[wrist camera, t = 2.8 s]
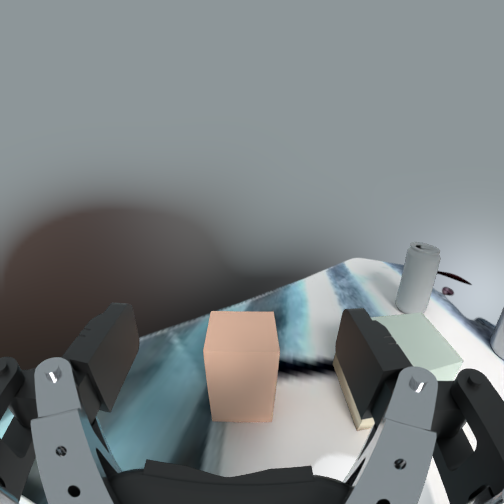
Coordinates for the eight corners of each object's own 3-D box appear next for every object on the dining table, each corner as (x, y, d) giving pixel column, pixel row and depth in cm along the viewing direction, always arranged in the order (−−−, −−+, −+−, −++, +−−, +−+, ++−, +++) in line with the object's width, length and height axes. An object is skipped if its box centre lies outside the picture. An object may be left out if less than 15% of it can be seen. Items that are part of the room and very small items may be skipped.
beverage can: (394, 297, 48) (407, 238, 44) (424, 303, 45) (439, 245, 41) (393, 313, 43) (409, 248, 39) (426, 320, 40) (444, 255, 36)
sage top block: (412, 337, 31) (421, 312, 29) (448, 387, 21) (463, 360, 20) (345, 346, 30) (352, 318, 29) (372, 408, 21) (385, 380, 20)
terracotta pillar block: (268, 382, 30) (273, 311, 26) (271, 421, 24) (279, 351, 21) (216, 381, 30) (211, 311, 26) (212, 421, 24) (203, 350, 21)
